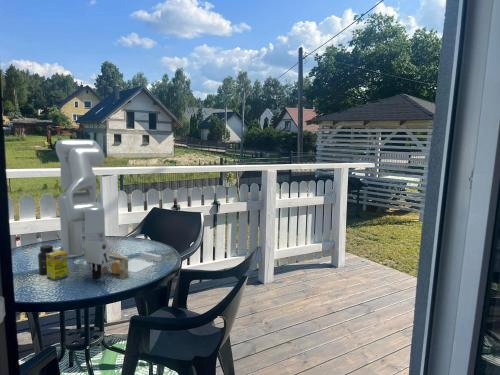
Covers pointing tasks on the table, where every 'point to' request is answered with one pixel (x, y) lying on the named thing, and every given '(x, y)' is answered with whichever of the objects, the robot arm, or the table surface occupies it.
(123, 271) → the bridge
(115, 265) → the ball
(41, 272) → the supplement bottle
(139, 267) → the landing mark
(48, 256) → the supplement box
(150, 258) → the wall
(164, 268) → the table surface
